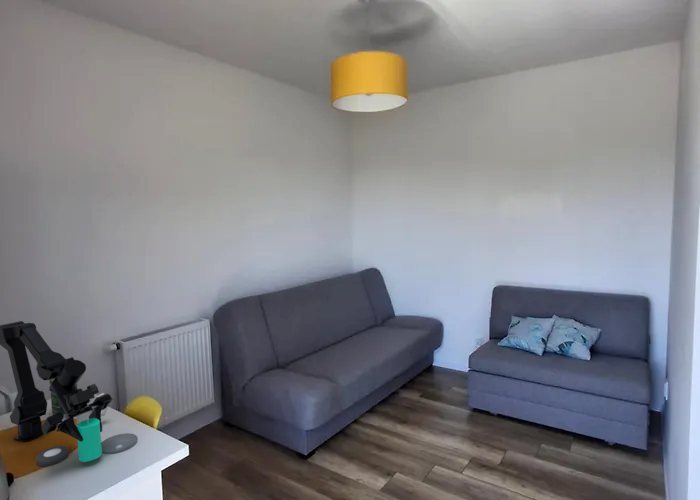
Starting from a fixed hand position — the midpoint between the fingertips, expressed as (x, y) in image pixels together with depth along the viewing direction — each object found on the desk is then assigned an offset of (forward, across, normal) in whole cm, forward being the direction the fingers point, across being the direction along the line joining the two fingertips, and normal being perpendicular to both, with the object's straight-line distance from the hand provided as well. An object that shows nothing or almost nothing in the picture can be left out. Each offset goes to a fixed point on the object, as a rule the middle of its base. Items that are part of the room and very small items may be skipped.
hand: (91, 436), depth 129 cm
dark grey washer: (-4, -4, +16) cm, 16 cm away
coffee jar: (-24, +16, +37) cm, 46 cm away
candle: (+4, 0, +6) cm, 7 cm away
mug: (-10, +14, +22) cm, 28 cm away
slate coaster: (+4, +10, +8) cm, 13 cm away
